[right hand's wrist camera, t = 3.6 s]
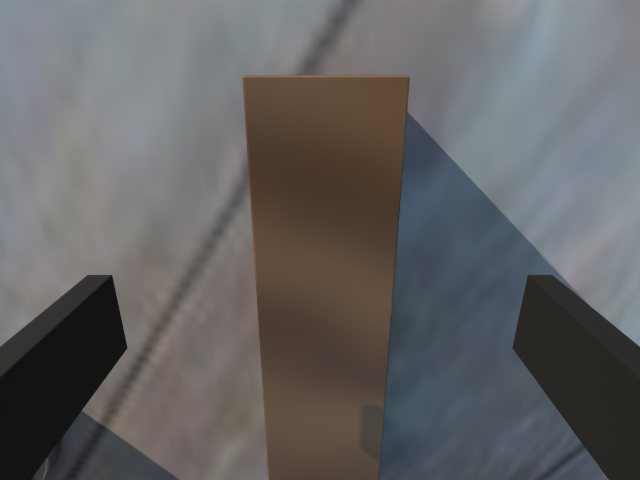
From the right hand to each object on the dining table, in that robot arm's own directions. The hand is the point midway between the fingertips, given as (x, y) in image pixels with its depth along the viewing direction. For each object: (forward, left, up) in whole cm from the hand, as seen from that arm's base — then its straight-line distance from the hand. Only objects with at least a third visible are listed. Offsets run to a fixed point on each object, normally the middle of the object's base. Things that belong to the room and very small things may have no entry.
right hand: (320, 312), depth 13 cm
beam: (-3, +28, -12) cm, 31 cm away
